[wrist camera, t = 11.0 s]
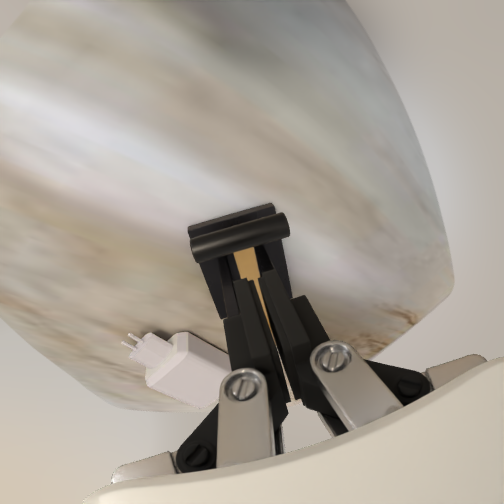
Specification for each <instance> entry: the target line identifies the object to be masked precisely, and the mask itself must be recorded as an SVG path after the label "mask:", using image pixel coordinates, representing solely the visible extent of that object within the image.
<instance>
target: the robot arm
mask: <svg viewBox="0 0 504 504" xmlns="http://www.w3.org/2000/svg"><path fill="white" fill-rule="evenodd" d="M258 282H259V286H260V290H261V294H262V297H263V301H264V305H265V309H266V312H267V316H268V320H269V324H270V327H271V330H270V327H269V324H268V321H267V318H266V316H265V313H264V310H263V307H262V304H261V301H260V298H259V295H258V292H257V289H256V286H255V283H254V280H250V281H248V280H247V277H246V278H243V279H240V280H236V281H233V283H234V287H235V292H236V296H237V300H238V305H239V309H240V313H241V314H240V315H237V316H233V317H230V318H226V319H223V323H224V329H225V335H226V341H227V347H228V353H229V359H230V365H231V371H232V372H231V373H229V374H228V375H227V376H226V377H225V378H224V379H223V381H222V382H221V385H220V389H219V403H218V404H217V405H216V406H215V408H214V409H213V410H212V411H211V412H210V413H209V415H208V416H207V417H206V418H205V419H204V420H203V421H202V423H201V424H200V425H199V426H198V427H197V428H196V429H195V430H194V432H193V433H192V434H191V435H190V436H189V437H188V438H187V439H186V440H185V442H184V443H183V444H182V445H181V446H180V448H179V449H178V451H175V452H172V453H170V452H169V451H167V452H164V453H162V454H158V455H155V456H152V457H149V458H146V459H143V460H139V461H136V462H133V463H129V464H125V465H122V466H120V467H118V468H117V469H116V470H115V471H114V472H113V475H112V484H110V485H107V486H105V487H103V488H101V489H98V490H97V491H95V492H93V493H92V494H90V495H89V496H88V497H87V498H86V499H85V500H84V501H83V503H82V504H504V357H500V358H496V359H493V360H490V361H487V360H486V359H485V358H484V357H482V356H481V355H477V354H472V355H467V356H465V357H462V358H459V359H456V360H453V361H450V362H447V363H444V364H440V365H438V366H434V367H431V368H427V369H426V371H425V372H422V373H419V372H416V371H413V370H409V369H404V368H399V367H395V366H390V365H385V364H382V363H377V362H373V361H369V360H365V359H363V358H362V357H361V356H360V355H359V354H358V353H357V351H356V350H355V349H354V348H353V347H352V346H351V345H349V344H348V343H346V342H343V341H337V340H334V341H330V339H329V337H328V336H327V334H326V332H325V330H324V328H323V326H322V325H321V323H320V321H319V319H318V317H317V315H316V314H315V312H314V310H313V308H312V306H311V305H310V303H309V301H308V299H307V298H306V296H305V295H303V296H300V297H297V298H293V299H290V298H289V296H288V294H287V292H286V290H285V287H284V285H283V283H282V281H281V279H280V277H279V275H278V273H277V271H276V269H273V270H270V271H267V272H263V273H262V277H260V278H258ZM271 331H272V333H271ZM272 334H273V336H272ZM273 337H274V339H273ZM274 340H275V342H274ZM275 343H276V345H275ZM276 346H277V348H278V351H279V354H280V357H281V360H282V363H283V366H284V369H285V371H286V374H287V377H288V380H289V383H290V386H291V389H292V391H293V394H294V397H295V400H298V399H301V400H302V402H303V405H304V406H305V405H306V407H307V408H309V409H312V410H315V411H317V413H318V416H319V417H320V419H321V421H322V422H323V424H324V425H325V427H326V429H327V430H328V432H329V433H330V435H331V436H332V438H331V439H328V440H325V441H323V442H320V443H317V444H314V445H311V446H308V447H304V448H301V449H298V450H295V451H291V452H288V453H285V445H284V437H283V427H282V422H283V421H284V419H285V418H286V416H287V415H288V410H287V406H286V403H288V402H291V399H290V395H289V392H288V388H287V384H286V380H285V377H284V373H283V369H282V365H281V362H280V358H279V354H278V351H277V348H276Z"/></svg>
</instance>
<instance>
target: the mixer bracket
mask: <svg viewBox="0 0 504 504" xmlns="http://www.w3.org/2000/svg"><path fill="white" fill-rule="evenodd" d="M274 214H276V212H275V207H274V205H273V204H272V203H268V204H265V205H261V206H257V207H254V208H250V209H247V210H243V211H240V212H236V213H233V214H229V215H226V216H222V217H219V218H216V219H212V220H209V221H206V222H202V223H199V224H196V225H192V226H189V227H188V234H189V237H190V239H191V238H195V237H198V236H201V235H205V234H208V233H211V232H215V231H218V230H222V229H225V228H228V227H232V226H235V225H239V224H242V223H246V222H249V221H253V220H256V219H260V218H263V217H267V216H270V215H274ZM254 250H255V255H256V259H257V264H258V269H259V273H260V277H262V273H263V272H267V271H270V270H273V269H276V271H277V273H278V275H279V277H280V279H281V281H282V283H283V285H284V287H285V290H286V292H287V294H288V296H289V298H290V299H291V298H293V297H292V292H291V286H290V281H289V276H288V271H287V266H286V260H285V255H284V250H283V245H282V240H281V239H279V240H276V241H272V242H269V243H265V244H262V245H259V246H255V247H254ZM199 264H200V267H201V269H202V272H203V275H204V277H205V280H206V283H207V285H208V288H209V290H210V293H211V296H212V298H213V301H214V303H215V306H216V308H217V311H218V313H219V316H220V318H221V319H224V318H230V317H233V316H237V315H240V314H241V313H240V309H239V305H238V300H237V296H236V292H235V287H234V283H233V281H236V280H240V279H241V276H240V273H239V270H238V267H237V263H236V260H235V257H234V254H233V253H231V254H228V255H224V256H221V257H218V258H214V259H211V260H207V261H204V262H201V263H199Z"/></svg>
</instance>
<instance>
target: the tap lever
mask: <svg viewBox="0 0 504 504" xmlns="http://www.w3.org/2000/svg"><path fill="white" fill-rule="evenodd" d="M289 236H290V229H289V224H288V221H287V218H286V216H285V214H284V213H282V212H281V213H278V214H274V215H270V216H267V217H263V218H260V219H256V220H253V221H249V222H246V223H242V224H239V225H235V226H232V227H228V228H225V229H222V230H218V231H215V232H211V233H208V234H205V235H201V236H198V237H195V238H191V239H190V246H191V250H192V254H193V256H194V259H195V261H196V262H197V263H201V262H204V261H207V260H211V259H214V258H218V257H221V256H224V255H228V254H231V253H233V254H234V257H235V260H236V263H237V267H238V270H239V273H240V276H241V279H243V278H246V277H247V280H248V281H250V280H254V283H255V286H256V289H257V292H258V295H259V298H260V301H261V304H262V307H263V310H264V313H265V316H266V318H267V321H268V324H269V320H268V316H267V312H266V309H265V305H264V301H263V297H262V294H261V290H260V286H259V282H258V278H260V273H259V269H258V264H257V259H256V255H255V250H254V247H255V246H259V245H262V244H265V243H269V242H272V241H276V240H279V239H283V238H286V237H289ZM269 327H270V324H269ZM270 330H271V327H270ZM271 333H272V331H271ZM272 336H273V334H272ZM273 339H274V337H273ZM274 342H275V340H274ZM275 345H276V343H275Z"/></svg>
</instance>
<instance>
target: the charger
mask: <svg viewBox="0 0 504 504" xmlns="http://www.w3.org/2000/svg"><path fill="white" fill-rule="evenodd" d="M128 336H129V337H131V338H132V339H134V340H136V341H138V343H137V344H136V345H135V347H134V346H132V345H131V344H129V343H127V342H125V341H124V340H123V341H122V344H123V345H125V346H127V347H129V348H130V349H132V352H131V353H130V356H129V358H130V359H132V360H134V361H136V362H138V363H140V364H142V365H144V366H145V367H146V376H145V380H146V383H147V386H148V387H150V388H152V389H154V390H156V391H158V392H161V393H163V394H165V395H167V396H170V397H172V398H174V399H177V400H179V401H182V402H184V403H186V404H189V405H191V406H194V407H196V408H199V409H202V408H205V407H206V406H208V405H209V404H211V403H212V402H214V401H215V400H217V399H218V398H219V389H220V385H221V382H222V381H223V379H224V378H225V377H226V376H227V375H228V374H229V373H231V372H232V371H231V365H230V359H229V355H228V354H226V353H224V352H223V351H221V350H219V349H217V348H215V347H213V346H212V345H210V344H208V343H206V342H204V341H203V340H201V339H199V338H197V337H196V336H194V335H192V334H191V333H189V332H181V333H176V334H174V335H173V336H172V337H171V338H170V339H169V340H168V341H167V342H166V341H165V340H163V339H161V338H159V337H158V336H156V335H154V334H152V333H151V332H150V333H148V334H146V335H144V337H143V338H142V339H140V338H138V337H136V336H135V335H133V334H131V333H129V334H128Z"/></svg>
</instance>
